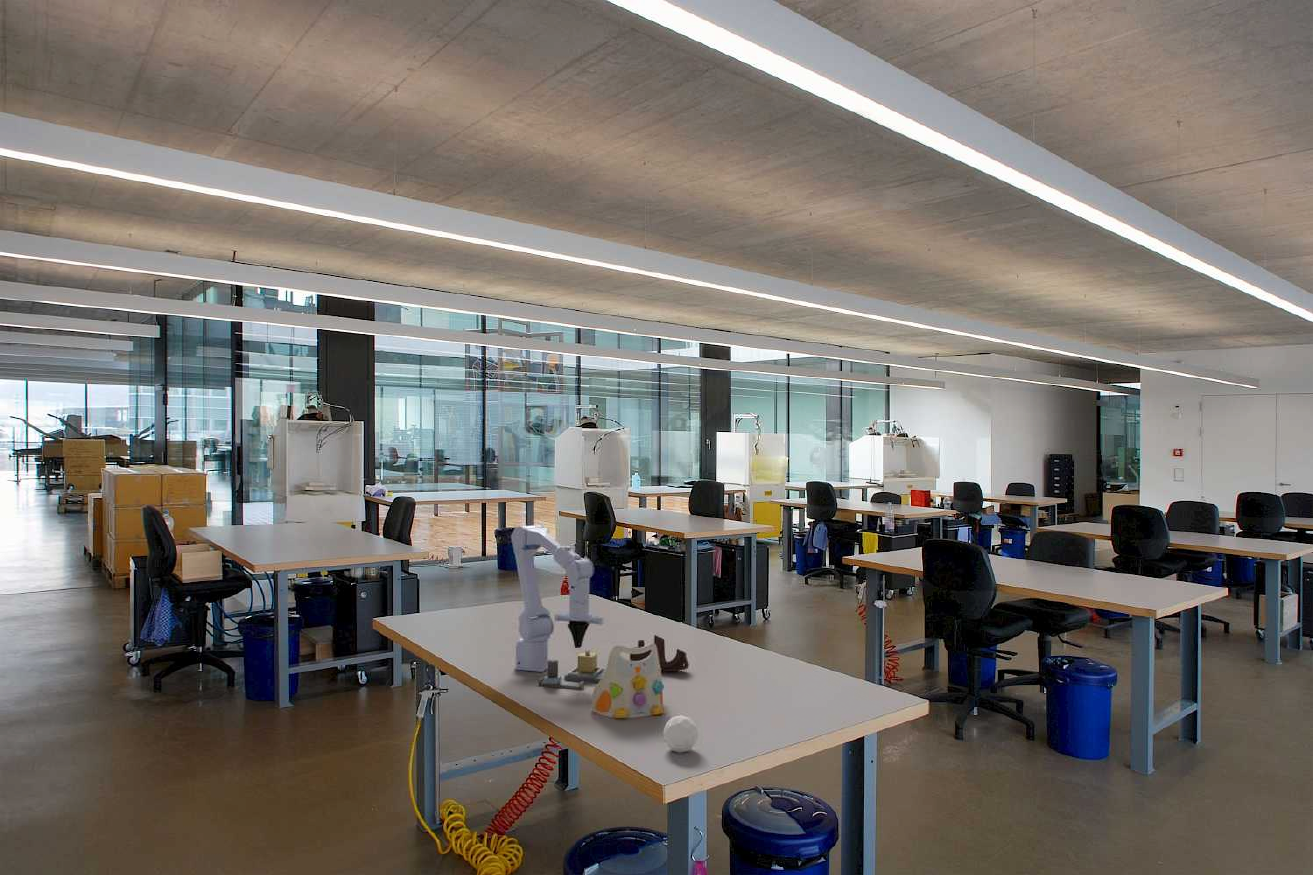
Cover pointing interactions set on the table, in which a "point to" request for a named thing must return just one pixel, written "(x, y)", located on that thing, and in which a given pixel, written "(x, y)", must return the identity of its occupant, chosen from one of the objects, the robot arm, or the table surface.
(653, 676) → the shape sorter
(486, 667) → the table surface
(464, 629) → the table surface
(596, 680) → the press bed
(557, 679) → the lever
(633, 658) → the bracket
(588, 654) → the housing
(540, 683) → the rail
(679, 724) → the ball
